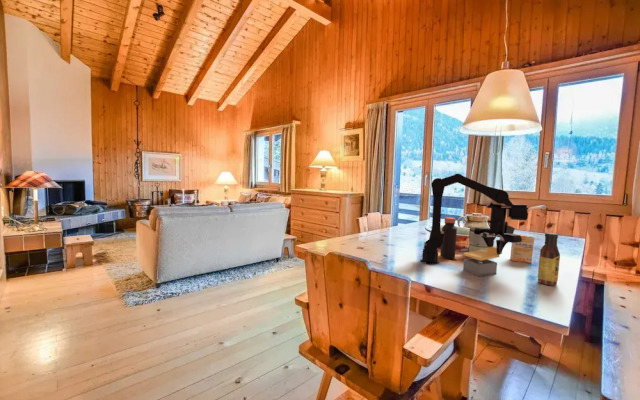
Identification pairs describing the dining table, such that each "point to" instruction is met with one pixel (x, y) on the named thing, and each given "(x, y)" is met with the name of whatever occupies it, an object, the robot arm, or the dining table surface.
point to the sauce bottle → (549, 261)
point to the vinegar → (449, 239)
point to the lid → (483, 253)
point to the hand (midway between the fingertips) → (494, 253)
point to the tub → (480, 267)
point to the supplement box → (523, 249)
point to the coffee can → (476, 241)
